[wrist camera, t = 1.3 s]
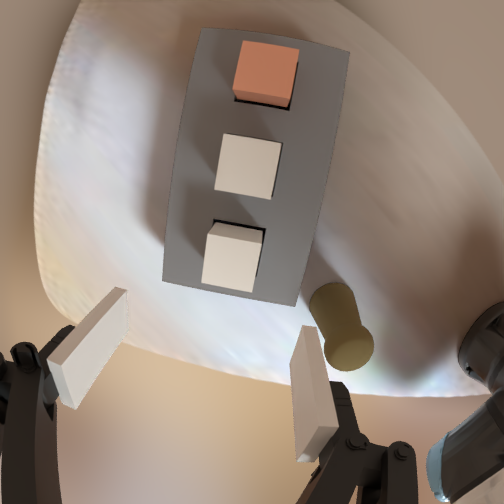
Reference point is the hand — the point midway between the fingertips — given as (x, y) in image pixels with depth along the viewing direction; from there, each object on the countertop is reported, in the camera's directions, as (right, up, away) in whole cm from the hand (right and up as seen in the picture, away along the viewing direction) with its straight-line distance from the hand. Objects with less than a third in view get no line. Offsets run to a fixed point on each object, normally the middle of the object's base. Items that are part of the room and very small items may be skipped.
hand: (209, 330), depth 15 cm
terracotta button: (+4, +19, +8) cm, 21 cm away
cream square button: (+1, +4, +13) cm, 14 cm away
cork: (+13, -2, +21) cm, 25 cm away
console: (+2, +14, +16) cm, 21 cm away
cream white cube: (+2, +12, +10) cm, 16 cm away
